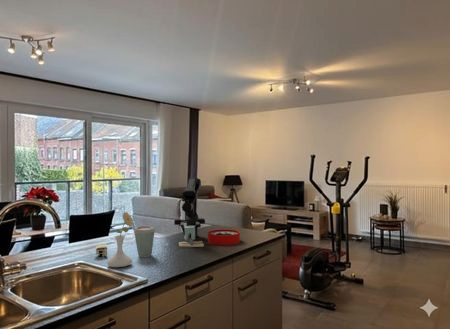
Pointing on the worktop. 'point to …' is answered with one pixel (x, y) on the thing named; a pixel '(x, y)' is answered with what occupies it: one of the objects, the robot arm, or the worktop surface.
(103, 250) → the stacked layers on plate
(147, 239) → the disposable coffee cup
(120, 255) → the flower in vase
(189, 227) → the block
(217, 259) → the worktop surface
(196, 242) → the cleat board
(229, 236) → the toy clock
